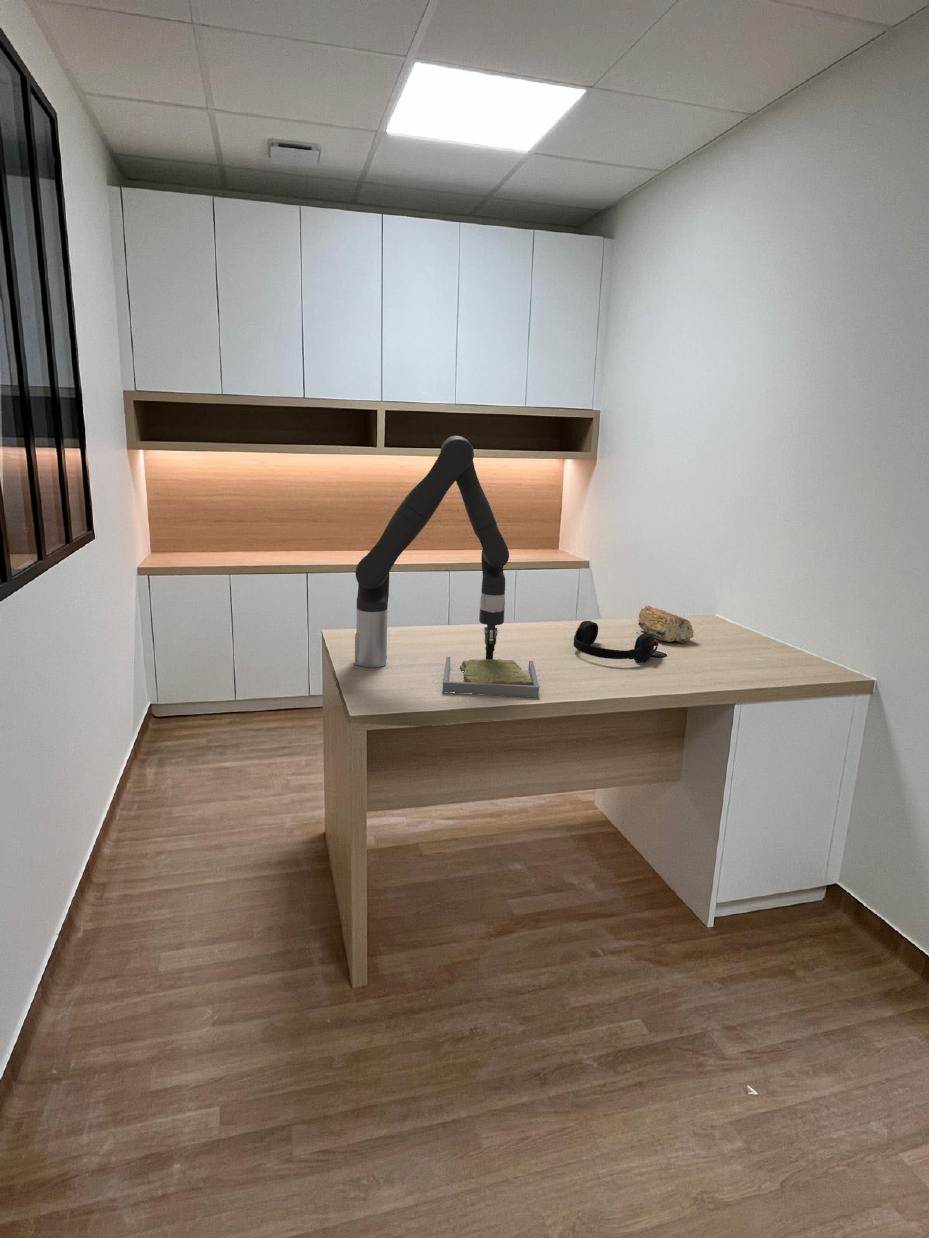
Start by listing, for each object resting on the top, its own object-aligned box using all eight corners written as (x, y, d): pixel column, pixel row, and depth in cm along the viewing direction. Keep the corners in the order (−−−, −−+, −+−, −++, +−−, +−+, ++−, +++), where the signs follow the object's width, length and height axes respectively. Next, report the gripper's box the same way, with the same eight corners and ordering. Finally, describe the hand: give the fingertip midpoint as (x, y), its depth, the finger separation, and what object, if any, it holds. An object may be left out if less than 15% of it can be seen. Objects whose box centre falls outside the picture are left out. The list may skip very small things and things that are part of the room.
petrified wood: (632, 629, 276) (639, 603, 275) (660, 635, 281) (668, 609, 279) (661, 642, 258) (669, 615, 257) (691, 648, 263) (699, 621, 261)
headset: (652, 646, 258) (655, 622, 255) (663, 670, 232) (667, 643, 230) (571, 640, 260) (573, 616, 258) (573, 663, 235) (576, 637, 233)
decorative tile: (514, 668, 229) (514, 657, 228) (532, 691, 210) (533, 679, 209) (454, 669, 225) (455, 658, 224) (468, 693, 206) (469, 681, 205)
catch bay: (442, 692, 204) (442, 682, 203) (446, 665, 226) (446, 656, 226) (538, 697, 204) (539, 687, 203) (532, 670, 226) (533, 660, 225)
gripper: (479, 601, 230) (476, 654, 234) (480, 612, 217) (477, 668, 222) (503, 602, 230) (500, 655, 234) (505, 613, 217) (502, 669, 222)
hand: (489, 661), depth 228 cm, fingers closed
